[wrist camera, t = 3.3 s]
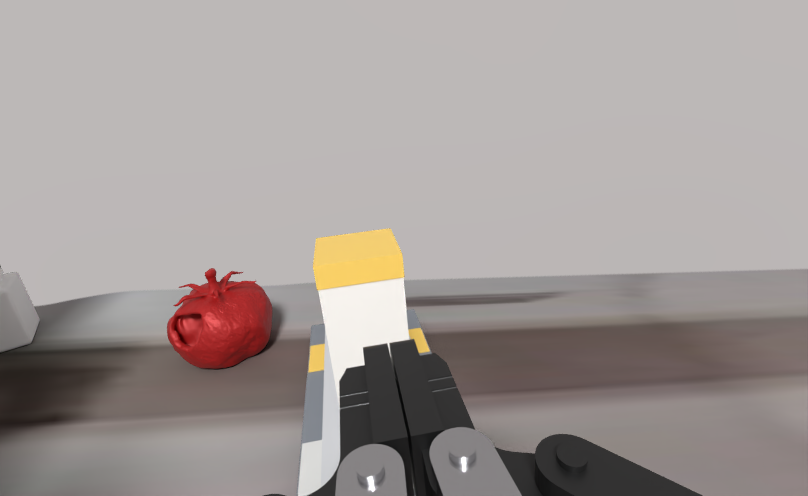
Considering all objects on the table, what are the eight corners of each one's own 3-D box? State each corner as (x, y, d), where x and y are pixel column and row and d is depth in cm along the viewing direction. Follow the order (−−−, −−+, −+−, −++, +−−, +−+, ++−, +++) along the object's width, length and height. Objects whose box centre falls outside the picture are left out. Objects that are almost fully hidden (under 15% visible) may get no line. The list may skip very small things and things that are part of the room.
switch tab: (428, 485, 24) (408, 254, 19) (350, 502, 23) (307, 268, 18) (414, 429, 28) (394, 226, 23) (347, 442, 27) (311, 237, 22)
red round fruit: (268, 317, 49) (253, 244, 46) (288, 357, 41) (272, 271, 37) (176, 343, 45) (153, 265, 42) (177, 394, 36) (148, 300, 33)
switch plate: (498, 540, 22) (498, 501, 21) (295, 588, 21) (284, 550, 20) (415, 321, 45) (412, 296, 43) (314, 337, 43) (309, 313, 42)
